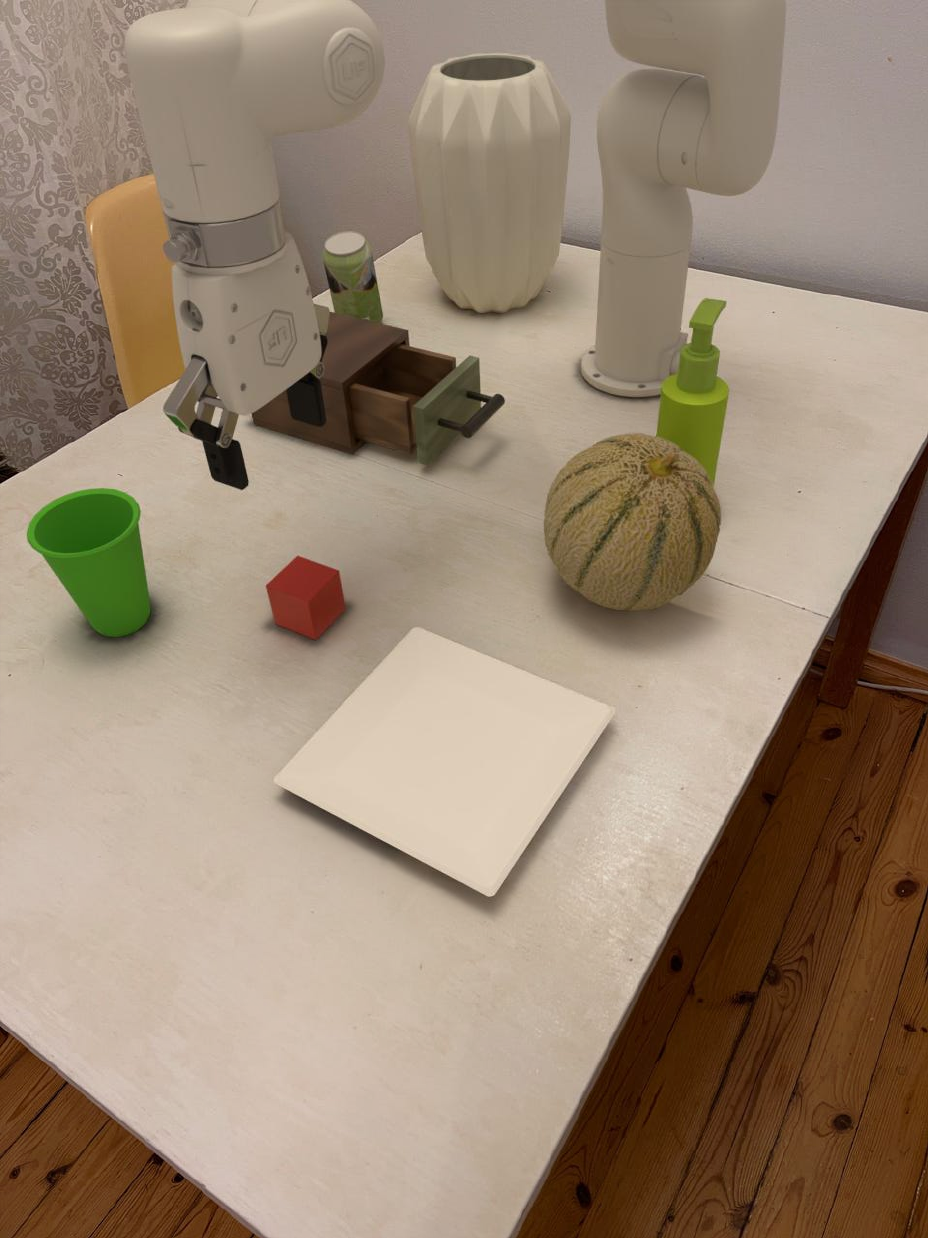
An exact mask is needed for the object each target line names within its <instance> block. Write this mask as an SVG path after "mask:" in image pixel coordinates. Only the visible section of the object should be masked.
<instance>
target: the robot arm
mask: <svg viewBox="0 0 928 1238" xmlns="http://www.w3.org/2000/svg"><path fill="white" fill-rule="evenodd" d="M604 5H605V7H604V8H605V18H606V19H605V20H606V27H607V32H608V38H609V42H610V44H611V47H612V48H613V50H614V51H615V53H616V54H618V56H619V57H621V58H623V59H624V60H627V61H629V62H633V63H635V64H640V65H644V66H647V67H653V68H641V69H639V68H638V69H635V70H631V71H628V72H626V73H624V74H622V75H621V76H619V77H617V78H616V80H614V81H613V82H612V83H611V84H610V85H609V87H608V88H607V89H606V90H605V93H604V95H603V97H602V99H601V102H600V105H599V108H598V113H597V119H596V142H597V150H598V151H597V152H598V157H599V158H598V159H599V163H600V164H599V165H600V172H601V173H600V174H601V184H602V216H601V217H602V218H601V222H602V223H601V237H600V254H599V270H598V271H599V272H598V289H597V291H598V292H597V309H596V327H595V343H594V345H592V346H591V347H590V348H588V349H587V350H586V351H585V353H584V354H583V355H582V356H581V360H580V361H581V362H580V372H581V375H582V376H583V379H584V380H585V381H586V382H587V383H588V384H589V385H591V386H592V387H594V388H595V389H597V390H599V391H602V392H604V393H608V394H610V395H614V396H620V397H627V398H628V397H629V398H648V397H655V396H661V387H662V383H663V381H664V380H665V379H666V378H667V377H669V376H671V375H673V374H676V373H678V365H679V357H680V350H681V348H682V347H683V346H684V345H686V344H688V337H689V334H688V332H682V331H681V329H682V323H683V321H682V320H683V314H684V304H685V298H686V297H685V295H686V287H687V279H688V271H689V264H690V263H689V262H690V254H691V245H692V241H693V231H694V213H693V208H692V203H691V199H690V197H689V193H688V191H687V189H690V190H693V191H698V192H703V193H706V194H711V195H715V196H723V197H735V196H739V195H743V194H746V193H748V192H749V191H751V190H752V189H753V188H754V187H756V186H757V184H758V183H759V182H760V181H761V180H762V178H763V176H764V175H765V173H766V171H767V169H768V167H769V164H770V161H771V158H772V155H773V152H774V149H775V148H774V147H775V142H776V137H777V131H778V130H777V129H778V123H779V122H778V120H779V112H780V111H779V110H780V98H781V97H780V96H781V83H782V72H783V71H782V70H783V59H784V58H783V57H784V45H785V35H786V34H785V32H786V17H787V15H786V14H787V0H604ZM123 44H124V45H123V46H124V56H125V60H126V65H127V70H128V75H129V78H130V82H131V86H132V90H133V95H134V99H135V102H136V103H135V104H136V107H137V111H138V114H139V120H140V123H141V128H142V132H143V136H144V140H145V144H146V148H147V152H148V156H149V160H150V164H151V168H152V172H153V177H154V181H155V186H156V190H157V194H158V197H159V202H160V206H161V209H162V214H163V217H164V218H163V219H164V223H165V226H166V230H167V232H168V237H169V239H168V240H166V241H165V242H164V243H163V245H162V249H163V253H164V255H165V257H166V258H167V260H169V261H170V262H171V263H174V264H173V265H172V266H171V284H172V285H171V288H172V299H173V300H172V301H173V309H174V318H175V324H176V325H175V326H176V331H177V337H178V343H179V348H180V353H181V358H182V362H183V366H184V371H183V373H182V375H181V376H180V378H179V380H178V381H177V383H176V385H175V386H174V388H173V389H172V391H171V393H170V394H169V396H168V397H167V399H166V400H165V402H164V404H163V407H162V410H163V413H164V415H165V416H166V417H167V418H168V420H170V421H171V423H173V424H174V426H176V427H177V430H178V431H179V432H180V433H182V434H185V435H186V436H190V437H191V438H193V439H195V440H198V441H201V442H202V446H203V451H204V454H205V457H206V463H207V465H208V469H209V473H210V476H211V479H213V480H214V481H215V482H217V483H219V484H223V485H225V486H229V487H231V488H235V489H237V490H240V491H243V490H245V489H247V488H248V487H249V483H250V481H249V477H248V473H247V467H246V464H245V463H246V462H245V458H244V454H243V450H242V446H241V443H240V441H238V440H236V439H234V434H235V430H236V427H237V424H238V420H239V416H248V415H252V414H251V413H253V412H255V411H257V410H258V409H260V408H261V407H263V406H264V405H265V404H267V403H268V402H270V401H271V400H272V399H274V398H275V397H277V396H278V395H279V394H281V393H282V392H283V391H285V390H286V392H287V397H288V403H289V408H290V414H291V417H292V419H294V420H297V421H301V422H304V423H307V424H310V425H314V426H317V427H322V426H323V425H325V424H326V422H327V421H326V414H325V408H324V401H323V394H322V388H321V381H320V380H318V378H321V377H322V376H323V374H324V365H323V363H322V359H323V356H324V353H325V350H326V347H327V343H328V340H327V337H326V336H325V333H327V328H328V322H329V315H330V312H331V311H330V308H329V307H328V306H325V305H321V304H316V303H314V300H313V295H312V291H311V287H310V283H309V280H308V275H307V272H306V269H305V266H304V263H303V260H302V256H301V255H300V251H299V248H298V247H297V244H296V242H295V239H294V237H293V235H292V234H291V233H289V232H288V231H286V228H285V223H284V216H283V215H284V214H283V209H282V203H281V197H280V190H279V183H278V177H277V171H276V166H275V165H276V164H275V159H274V152H273V147H272V140H273V139H274V138H275V137H277V136H281V135H287V134H294V133H295V134H296V133H303V132H304V133H305V132H313V131H325V130H329V129H333V128H337V127H341V126H344V125H345V124H348V123H350V122H352V121H354V120H356V119H357V118H358V117H360V115H362V114H363V113H364V112H365V111H366V110H368V108H369V107H370V106H371V105H372V103H373V102H374V100H375V98H376V97H377V95H378V93H379V91H380V89H381V86H382V83H383V79H384V74H385V66H386V65H385V64H386V62H385V61H386V60H385V49H384V45H383V41H382V38H381V35H380V33H379V30H378V28H377V26H376V24H375V23H374V20H372V18H371V17H370V16H369V15H368V14H367V12H366V11H365V10H364V9H362V8H361V7H360V6H359V5H357V4H356V3H355V2H353V1H352V0H187V3H186V6H185V7H182V8H180V7H179V8H173V9H172V8H171V9H165V10H161V11H156V12H152V13H150V14H147V15H144V16H142V17H140V18H139V19H136V20H135V21H134V22H133V23H131V25H130V26H129V27H128V29H127V30H126V34H125V35H124V42H123ZM197 403H198V405H197ZM196 405H197V409H196V410H195V408H196ZM216 408H219V409H222V411H221V414H220V418H219V422H218V425H217V426H215V425H213V424H212V421H213V418H214V414H215V410H216Z"/></svg>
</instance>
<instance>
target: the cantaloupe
mask: <svg viewBox="0 0 928 1238" xmlns="http://www.w3.org/2000/svg"><path fill="white" fill-rule="evenodd" d="M721 525H722V511H721V504H720V499H719V497H718V495H717V493H716V490H715V487H713V484H712V482H711V479H710V477H709V475H708V474H707V472H706V470H705V469H704V468H703V467H702V465H701V464H700V463H699V462H698V460H696V459H695V458H694V457H692V456H691V455H689V454H688V453H687V452H685V451H684V450H683V449H681V448H680V447H679V446H677V445H676V444H674V443H673V442H670V441H668V440H666V439H663V438H660V437H656V435H655V436H654V435H647V434H645V433H639V432H638V433H636V432H634V433H633V432H632V433H624V434H617V435H614V436H609V437H606V438H604V439H602V440H600V441H597V442H596V443H595V444H594V443H593V444H592V446H589V447H587V448H585V449H584V450H581V451H580V452H578V453H576V454H575V455H574V456H573V457H571V458H570V460H568V461H567V462H566V464H565V466H563V467H562V468H561V469H559V471H558V473H557V475H556V477H555V478H554V480H553V482H552V483H551V485H550V488H549V490H548V492H547V496H546V501H545V509H544V520H543V534H544V544H545V547H546V551H547V552H548V553H547V554H548V556H549V559H551V562H552V563H553V565H554V566H555V568H556V571H557V573H558V575H559V576H560V577H561V578H562V579H563V581H564V582H565V583H566V584H567V585H568V586H569V587H570V588H572V589H573V590H575V592H577V593H579V594H580V595H581V596H582V597H584V598H585V599H587V600H588V601H590V602H591V603H594V604H597V605H598V606H601V607H602V608H608V609H611V610H615V611H628V612H635V611H650V610H655V609H658V608H660V607H662V606H664V605H666V604H668V603H669V602H671V601H673V600H674V599H675V598H676V597H679V596H682V595H683V594H684V593H685V592H686V591H687V590H689V589H691V588H692V586H694V585H695V584H696V583H697V582H698V580H699V579H700V578H702V576H703V575H704V573H705V572H706V571H707V569H708V567H709V565H710V563H711V562H712V560H713V557H714V554H715V551H716V546H717V542H718V538H719V535H720V531H721V528H720V527H721Z"/></svg>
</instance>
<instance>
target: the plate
mask: <svg viewBox="0 0 928 1238" xmlns="http://www.w3.org/2000/svg"><path fill="white" fill-rule="evenodd" d="M616 711H617V710H616V708H615V707H614V706H611V705H609V704H606V703H604V702H602V701H599V700H597V699H594V698H592V697H589V696H587V695H585V694H582V693H580V692H577V691H575V690H572V689H570V688H568V687H565V686H563V685H560V684H558V683H555V682H553V681H551V680H548V679H546V678H543V677H541V676H538V675H536V674H534V673H531V672H529V671H526V670H524V669H522V668H519V667H517V666H514V665H511V664H509V663H507V662H504V661H502V660H499V659H497V658H495V657H492V656H490V655H487V654H486V653H483V652H480V651H478V650H475V649H473V648H471V647H468V646H466V645H463V644H462V643H461V644H460V643H459V642H456V641H453V640H451V639H449V638H446V637H444V636H441V635H439V634H437V633H434V632H431V631H430V630H427V629H424V628H422V627H419V626H414V627H412V628H411V629H410V630H409V631H408V633H406V635H405V636H404V637H403V638H401V640H400V641H399V642H398V644H396V645H395V646H394V648H393V649H392V650H390V652H389V653H388V654H387V655H386V656H385V657H384V658H383V660H381V662H380V663H379V664H378V665H377V666H376V667H375V668H374V669H373V670H372V671H371V672H370V674H369V675H368V676H367V677H366V678H365V679H364V680H363V681H362V682H361V683H360V684H359V685H358V687H357V688H356V689H355V690H354V691H352V693H351V694H350V695H349V696H348V697H347V698H346V700H344V702H343V703H342V704H341V705H340V706H339V707H338V708H337V709H336V710H335V712H333V713H332V715H331V716H330V717H329V718H328V719H327V720H326V721H325V722H324V723H323V724H322V726H321V727H319V729H318V730H316V732H315V733H314V734H313V735H312V736H311V737H310V738H309V740H307V742H305V744H304V745H303V746H302V747H301V748H300V749H299V750H298V751H297V752H296V753H295V755H294V756H293V757H292V758H291V759H290V760H289V761H288V762H287V763H286V764H285V765H284V766H283V768H282V769H281V770H279V772H278V773H277V774H276V775H275V776H274V777H273V780H272V781H273V783H274V784H275V785H278V786H279V787H281V788H283V789H285V790H287V791H289V792H291V793H292V794H294V795H295V796H298V797H300V798H302V799H303V800H306V801H308V802H309V803H311V804H313V805H315V806H316V807H318V808H321V809H322V810H325V812H328V813H330V814H332V815H334V816H336V817H337V818H339V819H341V820H343V821H345V822H347V823H348V824H351V825H353V826H354V827H356V828H358V829H360V830H361V831H364V832H366V833H368V834H370V835H372V836H373V837H374V838H377V839H379V840H381V841H383V842H385V843H387V844H389V845H390V846H392V847H394V848H395V849H397V850H399V851H401V852H403V853H405V854H407V855H409V856H411V857H413V858H415V859H417V860H418V861H420V862H422V863H424V864H426V865H428V866H430V867H431V868H434V869H435V870H437V871H439V872H441V873H443V874H445V875H446V876H449V877H451V878H452V879H454V880H456V881H458V882H459V883H462V884H463V885H465V886H467V887H469V888H471V889H473V890H475V891H477V892H478V893H481V894H483V895H484V896H486V897H488V898H489V897H493V896H495V895H496V894H497V892H498V891H499V889H500V888H501V886H502V884H503V883H504V881H505V880H506V878H507V877H508V875H510V872H511V871H512V869H513V868H514V866H515V865H516V864H517V862H518V860H519V859H520V857H521V856H522V855H523V853H524V851H525V850H526V848H527V847H528V845H529V844H530V842H531V840H532V839H533V837H534V836H535V835H536V833H537V831H538V830H539V829H540V827H541V825H542V824H543V822H544V821H545V819H546V818H547V817H548V815H549V813H550V812H551V811H552V809H553V807H554V806H555V804H556V803H557V801H558V800H559V798H560V797H561V795H562V794H563V792H564V790H565V789H566V788H567V787H568V785H569V783H570V782H571V780H572V779H573V777H574V776H575V774H576V773H577V771H578V770H579V768H580V767H581V765H582V763H583V762H584V760H585V759H586V758H587V756H588V754H589V753H590V752H591V750H592V749H593V747H594V746H595V744H596V742H597V741H598V740H599V738H600V736H601V735H602V734H603V732H604V731H605V729H606V727H607V726H608V724H609V723H610V721H611V720H612V718H613V717H614V715H615V713H616Z"/></svg>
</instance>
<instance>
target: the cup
mask: <svg viewBox="0 0 928 1238" xmlns="http://www.w3.org/2000/svg"><path fill="white" fill-rule="evenodd" d="M141 513H142V510H141V507H140V504H139V503H138V502H137V500H136V499H135V498H134V497H133V496H131V495H130V494H128V493H126V492H124V491H122V490H118V489H115V488H106V487H105V488H104V487H98V488H87V489H82V490H77V491H74V492H71V493H67V494H64V495H62V496H60V497H58V498H56V499H54V500H52V501H51V502H49V503H47V504H46V505H44V506H43V507H41V509H40V510H38V511H37V512H36V513H35V514H34V515H33V517H32V519H31V520H30V521H29V523H28V526H27V531H26V539H27V543H28V544H29V546H30V547H31V548H32V550H34V551H36V552H37V553H39V554H40V555H41V556H42V557H43V559H44V560H45V562H46V563H47V564H48V566H49V567H50V568H51V570H52V571H53V573H54V574H55V576H56V577H57V579H58V580H59V582H60V583H61V584H62V586H63V588H64V589H65V590H66V591H67V593H68V594H69V596H70V598H71V599H72V600H73V602H74V603H75V605H76V607H78V609H79V610H80V612H81V613H82V614H83V616H84V617H85V619H86V621H88V623H89V624H90V626H91V628H92V629H93V630H94V631H95V632H97V633H99V634H100V635H101V636H104V637H109V638H119V637H124V636H125V637H126V636H128V635H131V634H133V633H135V632H137V631H138V630H140V629H141V628H142V627H144V625H145V624H146V623H147V622H148V620H149V618H150V615H151V609H152V608H151V599H150V594H149V593H150V592H149V585H148V579H147V573H146V572H147V571H146V566H145V565H146V564H145V559H144V552H143V546H142V545H143V544H142V537H141V532H140V525H139V521H141Z"/></svg>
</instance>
